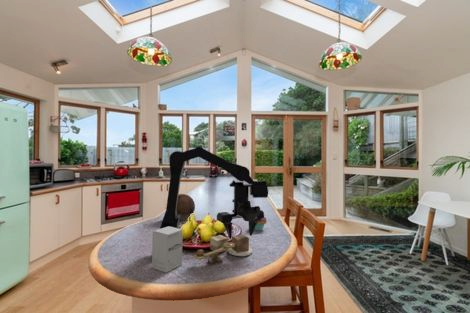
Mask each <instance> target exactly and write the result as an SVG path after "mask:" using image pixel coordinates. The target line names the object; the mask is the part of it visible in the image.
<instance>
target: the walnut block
mask: <svg viewBox="0 0 470 313" xmlns="http://www.w3.org/2000/svg"><path fill="white" fill-rule="evenodd" d="M231 242H232V243H235V247H233V248H232V249H233V250H234V251H236V252H237V253H240V252H245V251H249V247H250V238H249V236H246V235H245V234H243V233H242V234H237V235H232V237H231Z"/></svg>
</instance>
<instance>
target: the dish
mask: <svg viewBox="0 0 470 313" xmlns="http://www.w3.org/2000/svg"><path fill="white" fill-rule="evenodd" d="M227 252H228V254H230V255H231V256H234V257H246V256H250V255H252V254H253V248H252V247H250V246H249V251H245V252H240V253H237V252H236V251H234V250H233V249H232V248H230V249H228V250H227Z"/></svg>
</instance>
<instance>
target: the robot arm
mask: <svg viewBox="0 0 470 313" xmlns="http://www.w3.org/2000/svg"><path fill="white" fill-rule="evenodd" d="M196 158H201V159H203V160H204V161H207V162H209V163H210V164H212V165H214V166H216V167H218V168H220V169H222V170H223V171H226V172H227V173H228V174H229V175H230V176H232V177H234V178H235V179H236V180H238V181H235V180H234V179H233V180H232V181H231V182H230V183H229V184H228V186H229V187H230V188H231V187H233V199H232V200H231V202H232V203H233V209H232V213H230V212H227V211H224V212H223V211H222V212H221V211H220V212H218V213H217V214H216V220H217V221H218V222H220V223H222V226H224V228H225V231H226V233H227V236H228V239H229V240H232V236H233V235H232V233H233V232H232V227H233V224H234V223H233V222H232V221H233V220H234V219H243V221H245V222H248V233H249V236H250V237H252V235H253V234H254V231H255V230H254V228H255V226H256V224H257V222H258V221H260V220H261V218H264V217H265V212H264V211H263V210H261V207H260V206H259V205H255V206H251V201H250V200H249V195H250V196H252V198H253V199H255V198H257V199H264V198H265V199H266V198H267V199H268V196H269V188H268V182H267V180H264V179H263V180H254V179H253V178H252V177H251V175H250V174H251V172H250V169H249V168H248V167H246V166H245V165H241V164H237V163H234V162H232V161H231V162H230V161H228V160H226V159H224V158H222V157H220V156H219V155H216V154H215V153H213V152H211V151H209V150H206V149H205V148H203V147H202V146H197V147H195V148H191V149H188V150H184V151H180V150H179V151H178V150H177V151H173V152H172V153H170V156H169V160H168V161H169V171H170V176H169V185H168V191H167V192H168V194H167V201H166V208H165V213H164V215H163V218H162V221H161V224H160V226H159V229H161V228H165V227H168V226H170V227H174V228H179V227H180V220H179V219H180V215H177V202H178V195H179V194H180V193H179V192H180V188H181V186H180V185H181V179H182V174H183V171H184V169H185V165H186V162H187V161H191V160H193V159H196ZM244 182H246V183H247V184H244Z"/></svg>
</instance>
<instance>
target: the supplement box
mask: <svg viewBox="0 0 470 313" xmlns="http://www.w3.org/2000/svg"><path fill="white" fill-rule="evenodd" d="M183 232H184V231H183V228H179V227H178V228H174V227H170V226H168V227H165V228H161V229H160V228H158V229H155V230H152V237H151V238H152V239H151V240H152V244H151V268H152V269H155V270H156V271H157V270H158V271H160V272H163V273H168V272H170V271H172V270H175V269H176V268H178V267H181V266H182V265H183Z"/></svg>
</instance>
